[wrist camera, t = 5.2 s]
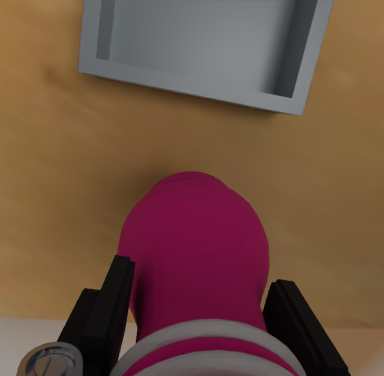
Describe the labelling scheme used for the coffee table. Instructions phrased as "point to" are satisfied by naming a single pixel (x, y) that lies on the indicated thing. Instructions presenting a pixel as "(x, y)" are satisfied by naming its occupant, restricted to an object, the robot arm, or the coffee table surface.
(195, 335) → the pepper mill
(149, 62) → the bin
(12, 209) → the coffee table surface
